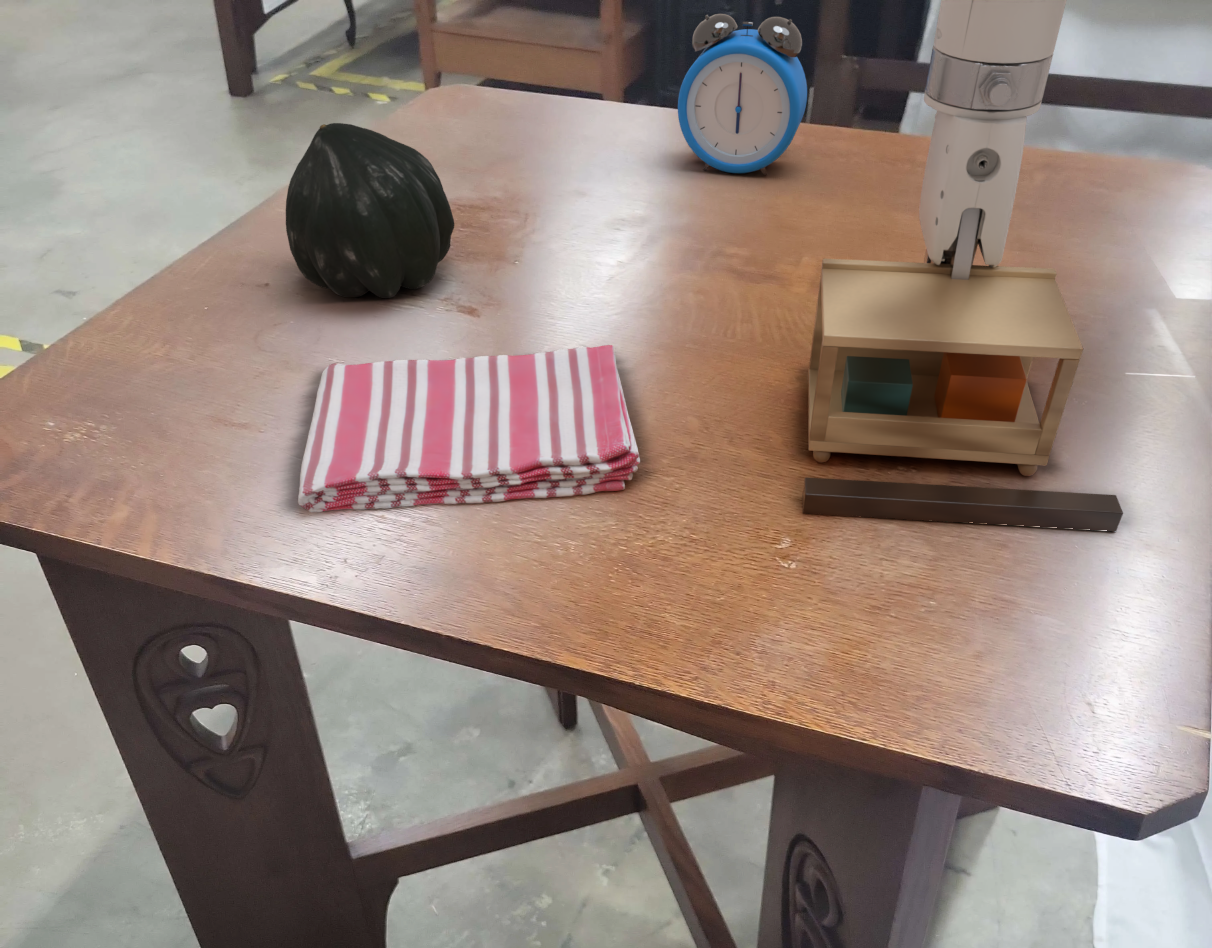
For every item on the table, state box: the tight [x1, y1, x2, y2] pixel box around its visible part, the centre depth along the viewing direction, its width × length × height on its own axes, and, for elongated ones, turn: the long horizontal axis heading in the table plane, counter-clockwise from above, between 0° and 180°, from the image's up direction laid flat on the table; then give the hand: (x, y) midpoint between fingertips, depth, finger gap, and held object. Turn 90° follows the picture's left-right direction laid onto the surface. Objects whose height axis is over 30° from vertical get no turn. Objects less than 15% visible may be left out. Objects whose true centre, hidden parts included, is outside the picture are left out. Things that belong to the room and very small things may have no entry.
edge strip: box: [801, 476, 1124, 532], centre depth 69 cm, size 20×2×2 cm, turn 83°
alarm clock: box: [677, 13, 808, 176], centre depth 113 cm, size 13×6×15 cm, turn 74°
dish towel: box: [297, 344, 641, 513], centre depth 77 cm, size 17×23×4 cm
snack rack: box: [807, 258, 1084, 477], centre depth 74 cm, size 16×11×10 cm
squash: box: [285, 122, 455, 299], centre depth 93 cm, size 14×15×15 cm
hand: (932, 333), depth 82 cm, fingers closed
